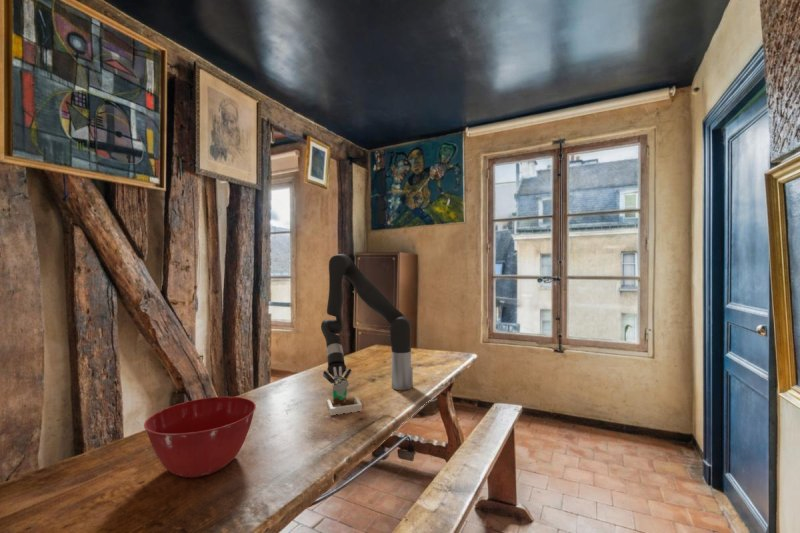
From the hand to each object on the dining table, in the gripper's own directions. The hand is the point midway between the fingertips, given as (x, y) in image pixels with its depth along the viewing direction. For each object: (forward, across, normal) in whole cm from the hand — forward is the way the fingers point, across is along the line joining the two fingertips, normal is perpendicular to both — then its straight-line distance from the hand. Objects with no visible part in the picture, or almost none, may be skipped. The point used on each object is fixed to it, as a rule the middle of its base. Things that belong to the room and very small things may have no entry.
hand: (339, 391), depth 159 cm
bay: (+10, +1, -5) cm, 11 cm away
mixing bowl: (+31, -45, -25) cm, 60 cm away
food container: (+7, 0, -1) cm, 7 cm away
